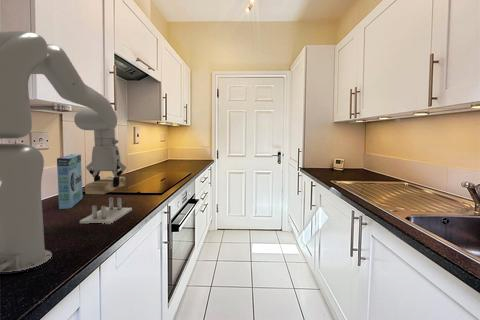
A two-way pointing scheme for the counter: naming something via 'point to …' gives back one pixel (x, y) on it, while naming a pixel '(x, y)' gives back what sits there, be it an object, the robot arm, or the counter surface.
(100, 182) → the oak shelf board
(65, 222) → the counter surface
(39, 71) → the robot arm
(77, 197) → the light blue carton
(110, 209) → the peg stand
